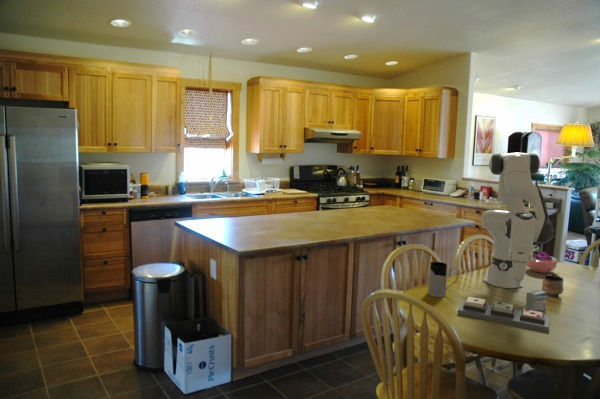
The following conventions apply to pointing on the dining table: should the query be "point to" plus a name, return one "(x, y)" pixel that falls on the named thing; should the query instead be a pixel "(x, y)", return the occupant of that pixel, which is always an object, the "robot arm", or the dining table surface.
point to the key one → (475, 302)
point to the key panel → (505, 316)
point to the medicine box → (536, 301)
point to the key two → (503, 307)
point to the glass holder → (438, 279)
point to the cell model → (542, 262)
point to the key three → (532, 314)
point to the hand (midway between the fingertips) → (517, 285)
